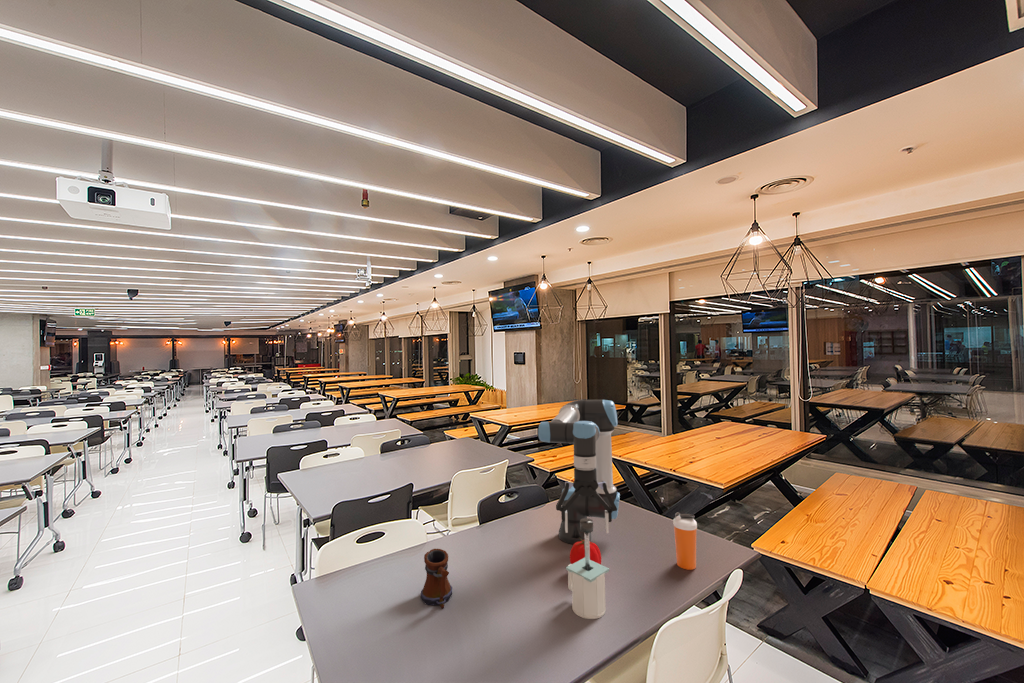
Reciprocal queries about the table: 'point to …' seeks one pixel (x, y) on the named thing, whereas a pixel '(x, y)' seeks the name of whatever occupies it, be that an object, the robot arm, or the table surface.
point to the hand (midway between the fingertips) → (586, 531)
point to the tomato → (579, 552)
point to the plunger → (586, 539)
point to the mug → (436, 578)
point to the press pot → (587, 589)
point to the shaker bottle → (685, 540)
